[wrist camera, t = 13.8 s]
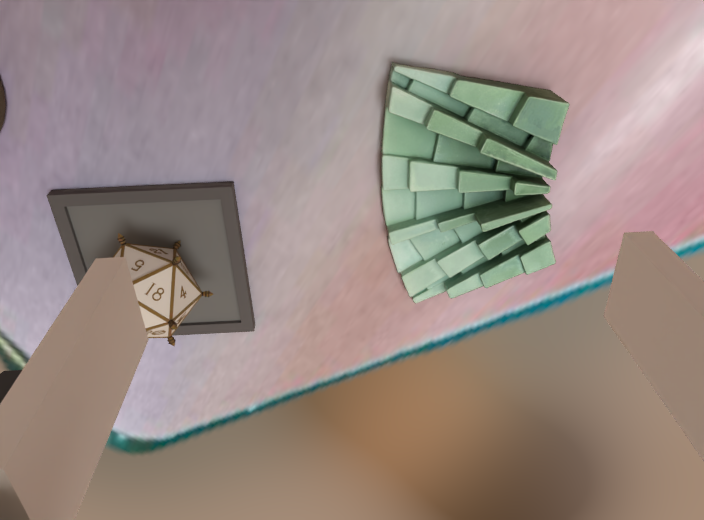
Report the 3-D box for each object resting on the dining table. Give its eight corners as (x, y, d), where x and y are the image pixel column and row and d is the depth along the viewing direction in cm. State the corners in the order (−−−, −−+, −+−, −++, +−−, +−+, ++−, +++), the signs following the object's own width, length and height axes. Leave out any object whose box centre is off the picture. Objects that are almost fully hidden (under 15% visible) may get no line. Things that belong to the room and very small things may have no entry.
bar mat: (52, 189, 44) (46, 195, 43) (233, 181, 44) (231, 186, 44) (99, 332, 51) (95, 339, 51) (255, 324, 52) (253, 331, 51)
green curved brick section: (588, 227, 49) (613, 256, 44) (412, 297, 52) (419, 331, 47) (523, -6, 39) (548, 4, 35) (310, 98, 42) (309, 118, 38)
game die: (192, 237, 50) (251, 300, 44) (134, 313, 51) (185, 386, 45) (107, 193, 43) (165, 261, 37) (40, 282, 43) (87, 364, 38)
